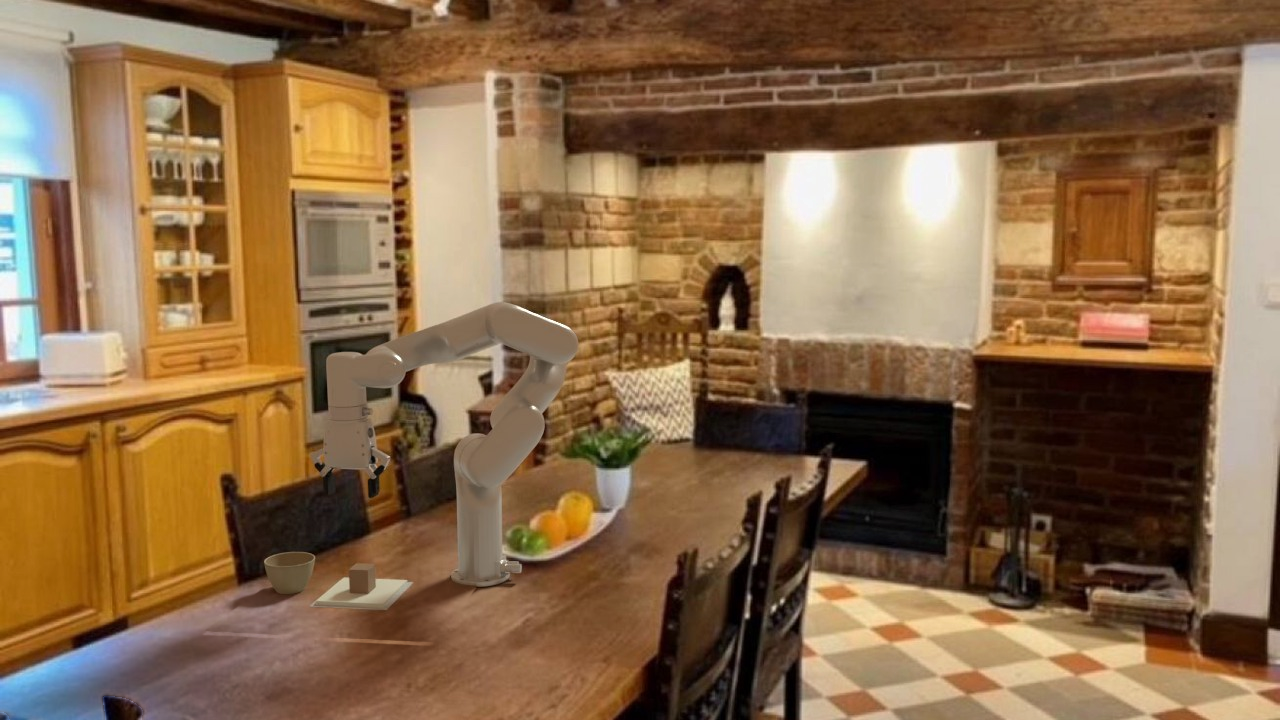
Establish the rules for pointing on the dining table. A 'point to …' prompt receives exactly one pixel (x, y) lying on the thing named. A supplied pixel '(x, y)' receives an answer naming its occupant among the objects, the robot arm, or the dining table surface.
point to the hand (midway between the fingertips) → (351, 495)
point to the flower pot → (289, 571)
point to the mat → (368, 607)
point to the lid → (362, 589)
